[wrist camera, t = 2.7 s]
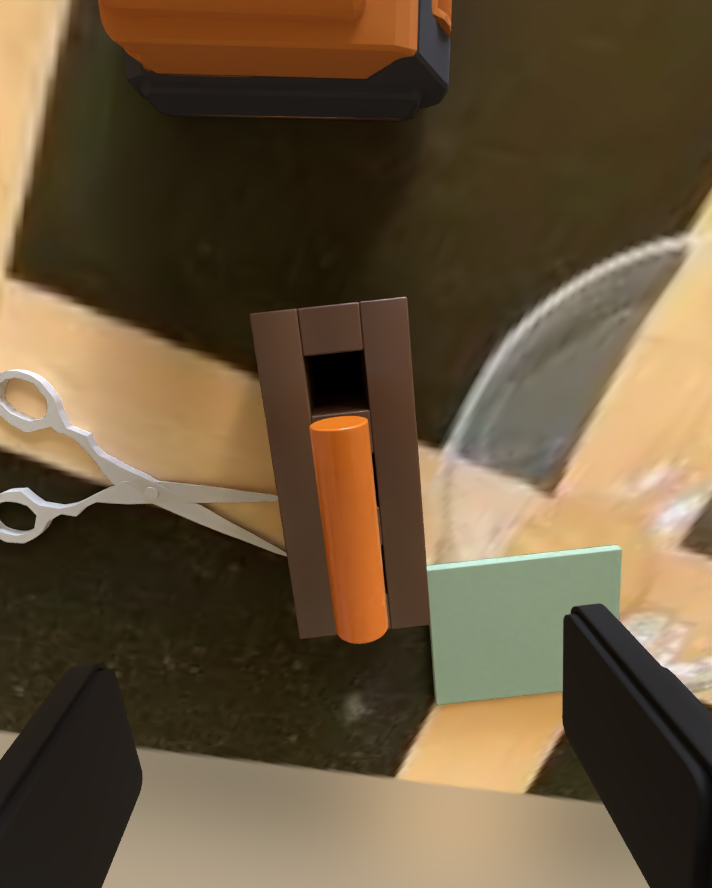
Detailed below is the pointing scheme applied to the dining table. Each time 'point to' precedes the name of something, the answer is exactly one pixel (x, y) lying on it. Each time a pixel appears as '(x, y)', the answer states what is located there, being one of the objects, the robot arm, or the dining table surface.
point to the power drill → (285, 56)
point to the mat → (512, 619)
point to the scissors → (115, 478)
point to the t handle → (350, 526)
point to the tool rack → (391, 437)
